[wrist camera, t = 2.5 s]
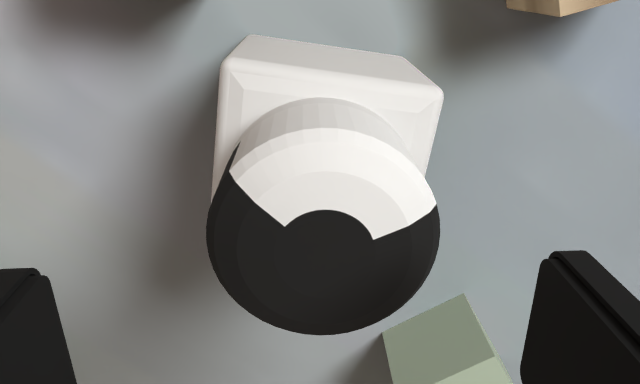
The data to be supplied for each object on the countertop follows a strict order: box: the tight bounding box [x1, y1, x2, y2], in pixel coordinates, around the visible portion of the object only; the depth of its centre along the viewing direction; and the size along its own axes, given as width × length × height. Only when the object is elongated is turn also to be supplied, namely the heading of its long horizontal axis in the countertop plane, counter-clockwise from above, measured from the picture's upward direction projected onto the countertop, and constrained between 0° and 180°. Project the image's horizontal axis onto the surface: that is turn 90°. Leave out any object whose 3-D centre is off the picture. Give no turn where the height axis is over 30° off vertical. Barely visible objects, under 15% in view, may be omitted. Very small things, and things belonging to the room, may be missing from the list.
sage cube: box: [382, 293, 513, 384], centre depth 26 cm, size 5×5×5 cm
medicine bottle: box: [206, 34, 443, 335], centre depth 18 cm, size 7×7×12 cm
